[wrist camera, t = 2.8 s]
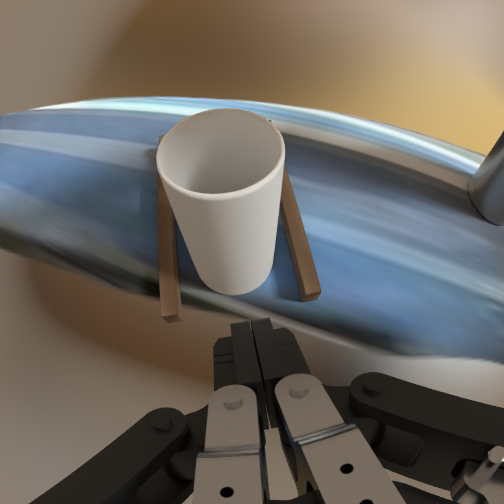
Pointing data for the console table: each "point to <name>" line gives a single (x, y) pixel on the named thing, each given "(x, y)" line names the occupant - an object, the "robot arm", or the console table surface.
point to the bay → (169, 256)
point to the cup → (225, 194)
